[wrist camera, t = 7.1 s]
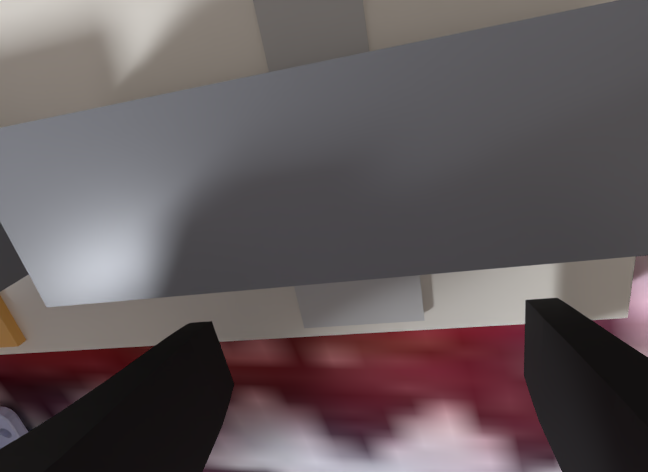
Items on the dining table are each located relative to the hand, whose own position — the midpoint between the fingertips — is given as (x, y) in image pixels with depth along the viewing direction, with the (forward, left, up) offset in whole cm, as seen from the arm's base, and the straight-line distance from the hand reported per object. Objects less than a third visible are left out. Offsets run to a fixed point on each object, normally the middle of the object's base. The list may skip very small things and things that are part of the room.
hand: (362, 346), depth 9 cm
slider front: (+5, 0, -1) cm, 5 cm away
